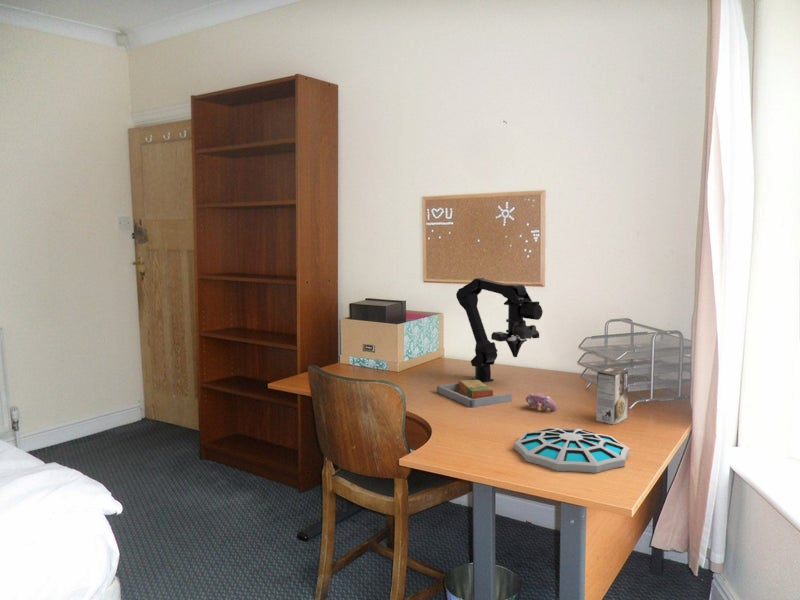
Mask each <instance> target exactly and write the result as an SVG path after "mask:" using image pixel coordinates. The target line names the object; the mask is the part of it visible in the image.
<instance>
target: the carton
mask: <svg viewBox="0 0 800 600" xmlns="http://www.w3.org/2000/svg"><path fill="white" fill-rule="evenodd" d="M458 383H459V390H460V391H461V392H462V393H461V392H460V391H459V390H458V391H459V392H460V393H461V394H462V395H464V396H467V397H469V398H471V399H477V398H484V397H490V396H494V390H493V388H491V387H489V386H488V385H487V384H485V383H484V382H481V381H479V380H473V379H465V380H458Z"/></svg>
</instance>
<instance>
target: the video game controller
mask: <svg viewBox="0 0 800 600" xmlns="http://www.w3.org/2000/svg"><path fill="white" fill-rule="evenodd" d="M525 402H526V403H527V404H528V405H529V406H530V407H532V408H533V409H534V410H538V409H539V408H540V409H541V410H542V411H543V412H546V411H547V410H548V409H550V410H551V411H554V412H555V411H557V409H558V406H557V404H556V402H555V401H554V400H553V399H552V398H551V397H550V396H549V395H545V394H542V393H540V392H539V393H537V392H536V393H533V392H531V393H530V394H528V395H527V396H526V397H525ZM540 404H541V405H540Z"/></svg>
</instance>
